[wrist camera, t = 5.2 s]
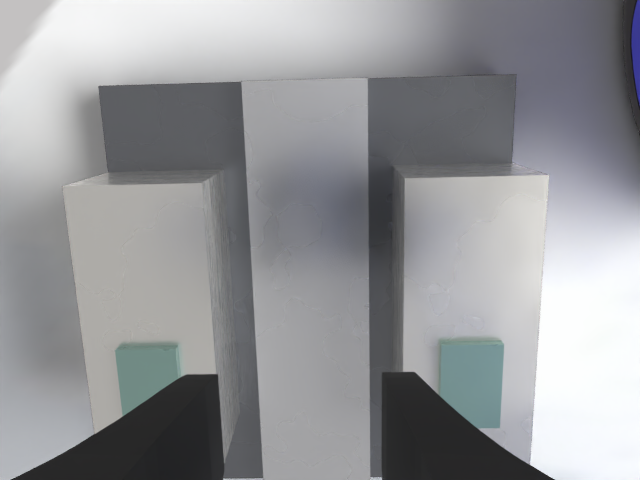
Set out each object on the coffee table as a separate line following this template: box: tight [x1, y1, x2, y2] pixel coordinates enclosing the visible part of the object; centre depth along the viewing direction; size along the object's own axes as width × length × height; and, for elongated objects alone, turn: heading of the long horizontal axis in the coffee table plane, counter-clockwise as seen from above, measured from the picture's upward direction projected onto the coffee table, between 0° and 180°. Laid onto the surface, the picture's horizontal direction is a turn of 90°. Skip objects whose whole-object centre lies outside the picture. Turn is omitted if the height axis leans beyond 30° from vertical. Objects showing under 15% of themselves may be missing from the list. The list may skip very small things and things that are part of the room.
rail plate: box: [62, 74, 549, 480], centre depth 17 cm, size 13×12×5 cm
